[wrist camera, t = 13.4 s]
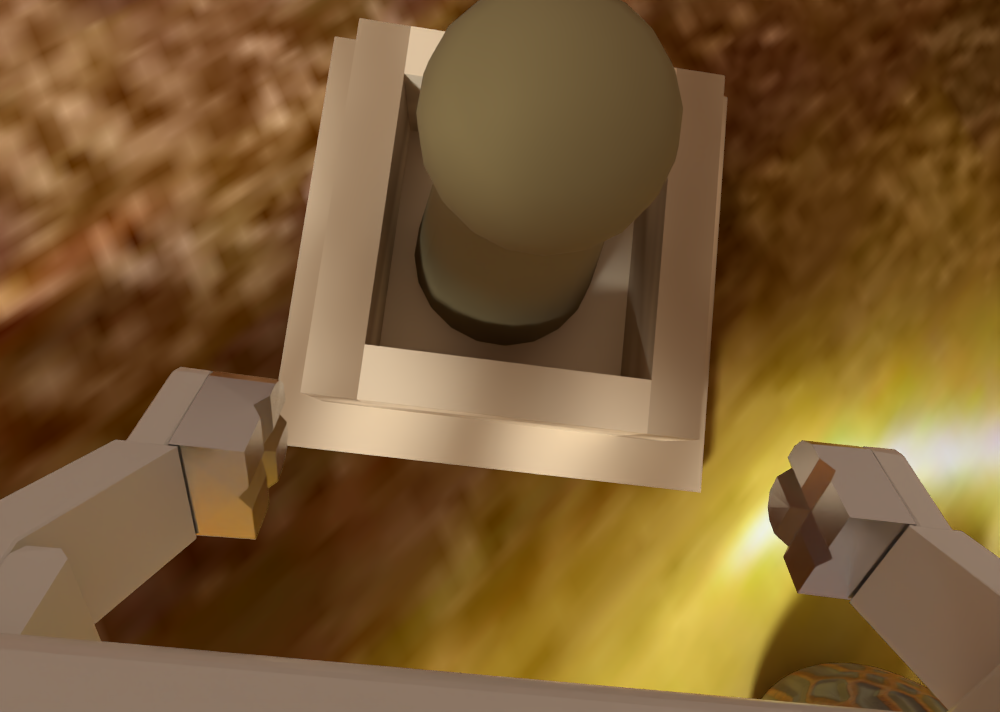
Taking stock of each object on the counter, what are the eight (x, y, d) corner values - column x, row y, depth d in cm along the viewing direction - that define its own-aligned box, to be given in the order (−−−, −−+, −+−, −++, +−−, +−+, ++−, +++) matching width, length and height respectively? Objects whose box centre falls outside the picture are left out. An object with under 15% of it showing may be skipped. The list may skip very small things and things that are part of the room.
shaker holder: (279, 443, 22) (233, 442, 18) (341, 61, 24) (315, -37, 20) (684, 489, 23) (748, 500, 18) (711, 117, 25) (775, 37, 20)
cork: (560, 151, 23) (664, -113, 12) (617, 315, 22) (782, 188, 12) (391, 198, 22) (344, -40, 12) (446, 368, 22) (450, 287, 11)
